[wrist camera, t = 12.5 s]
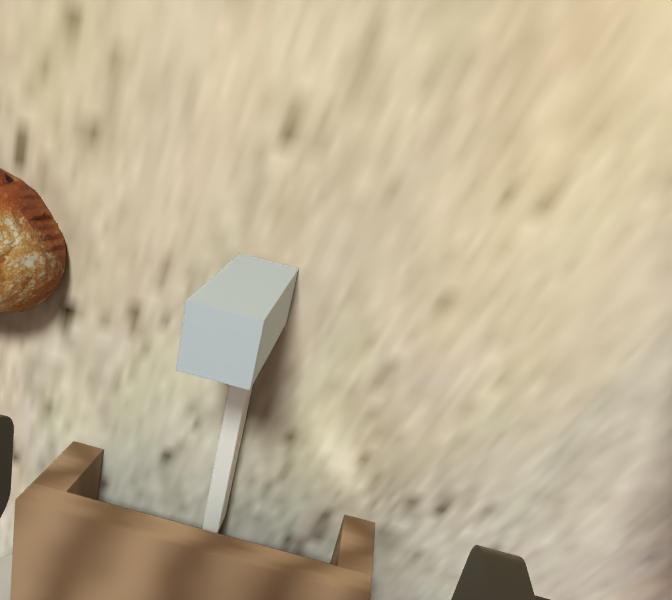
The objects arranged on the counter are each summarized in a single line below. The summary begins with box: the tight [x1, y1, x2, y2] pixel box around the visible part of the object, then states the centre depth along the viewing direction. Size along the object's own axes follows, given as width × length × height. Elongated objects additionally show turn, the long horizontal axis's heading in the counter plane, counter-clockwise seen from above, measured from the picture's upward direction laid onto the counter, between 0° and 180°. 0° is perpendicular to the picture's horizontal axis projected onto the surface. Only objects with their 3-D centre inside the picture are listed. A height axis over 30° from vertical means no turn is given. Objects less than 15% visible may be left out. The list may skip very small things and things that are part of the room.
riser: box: [10, 442, 375, 600], centre depth 42 cm, size 24×10×7 cm, turn 77°
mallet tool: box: [176, 253, 299, 533], centre depth 36 cm, size 4×21×10 cm, turn 167°
